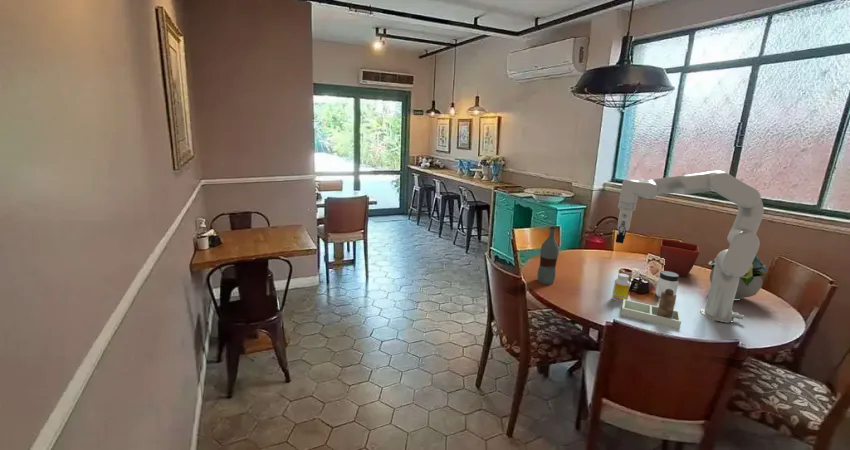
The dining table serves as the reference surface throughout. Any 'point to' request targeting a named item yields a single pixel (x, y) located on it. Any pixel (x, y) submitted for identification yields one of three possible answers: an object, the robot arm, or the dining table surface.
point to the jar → (667, 282)
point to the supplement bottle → (621, 287)
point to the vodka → (548, 259)
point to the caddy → (649, 313)
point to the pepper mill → (666, 303)
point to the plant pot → (678, 256)
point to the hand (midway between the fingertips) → (620, 240)
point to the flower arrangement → (748, 279)
